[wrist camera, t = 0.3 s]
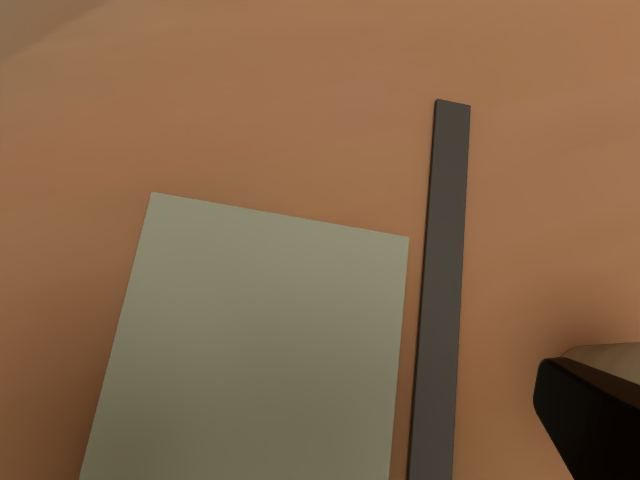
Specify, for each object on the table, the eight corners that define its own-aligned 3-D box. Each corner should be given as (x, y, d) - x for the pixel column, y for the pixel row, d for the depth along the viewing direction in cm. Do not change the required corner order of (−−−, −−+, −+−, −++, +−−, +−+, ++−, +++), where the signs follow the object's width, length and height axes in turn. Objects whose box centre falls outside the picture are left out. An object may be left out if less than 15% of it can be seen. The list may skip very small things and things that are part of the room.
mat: (406, 239, 25) (409, 237, 24) (382, 517, 21) (385, 519, 21) (153, 194, 23) (151, 191, 23) (80, 483, 20) (76, 485, 19)
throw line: (434, 762, 19) (437, 768, 19) (386, 759, 19) (388, 766, 18) (468, 108, 27) (470, 105, 27) (435, 101, 27) (437, 98, 27)
